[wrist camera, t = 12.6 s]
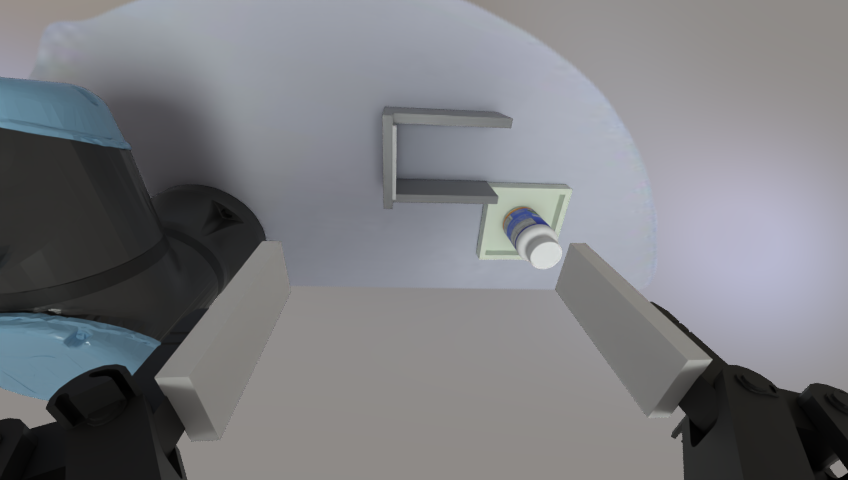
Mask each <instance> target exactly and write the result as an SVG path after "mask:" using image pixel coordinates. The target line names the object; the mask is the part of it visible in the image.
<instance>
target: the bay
mask: <svg viewBox="0 0 848 480" xmlns="http://www.w3.org/2000/svg"><path fill="white" fill-rule="evenodd" d="M512 121H513V118H510V117H508V116H505V115H503V114H500V113H498V112H485V111H465V110H444V109H423V108H402V107H385V109H384V112H383V115H382V126H383V198H384V209H392V206H393V202H411V203H464V204H497V203H498V198H499V196H498V195H497V194H496V193H495V191H494V190H493V189H492V188H491V186H490V185H489V184H488V183H487V182H486V181H462V180H424V179H396V127H397V124H393V123H401V124H424V125H447V126H470V127H493V128H511V126H512Z"/></svg>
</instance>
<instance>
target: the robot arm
mask: <svg viewBox="0 0 848 480" xmlns="http://www.w3.org/2000/svg"><path fill="white" fill-rule="evenodd" d="M130 149H132V148H131V146H130V144H129V143H127V142H126V141H125V139H124V138H123V136H122V134H121V132H120V130H119V128H118V126H117V124H116V122H115V120H114V118H113V116H112V114H111V112H110V110H109V108H108V107H107V105H106V104H105V103H104V102H103V101H102V100H101V99H100V98H99V97H98V96H97V95H95V94H94V93H92V92H91V91H89V90H87V89H85V88H82V87H80V86H76V85H73V84H67V83H58V82H47V81H37V80H26V79H15V78H3V77H0V387H1V388H3V389H5V390H9V391H12V392H15V393H18V394H22V395H25V396H29V397H34V398H38V399H42V400H48V401H49V402H48V404H47V406H46V410H48V412H49V413H50V414H51V415H52V416H53V417H54V418H55V419H56V421H57V422H53V423H49V424H46V425H42V426H39V427H35V428H32V429H29V428H28V427H27V426H26V425H25V424H24V423H23V422H22V421H21V420H20V419H13V418H8V419H3V420H0V480H187V477H186V473H185V470H184V466H183V462H182V459H181V455H180V451H179V449H178V448H177V446H176V444H177V442H178V440H179V439H180V437H181V435H182V434H183V432H184V430H185V431H186V433H187V435H188V436H189V438H190V440H191V442H194V441H213V440H220V439H221V437H222V435H223V433H224V431H225V429H226V427H227V425H228V423H229V420H230V418H231V416H232V414H233V412H234V410H235V408H236V406H237V404H238V402H239V400H240V397H241V396H242V393H243V391H244V389H245V387H246V385H247V383H248V381H249V379H250V377H251V375H252V372H253V370H254V368H255V366H256V364H257V362H258V360H259V357H260V356H261V354H262V352H263V349H264V347H265V345H266V343H267V341H268V339H269V337H270V335H271V333H272V331H273V329H274V326H275V324H276V322H277V320H278V318H279V316H280V314H281V312H282V310H283V308H284V306H285V304H286V302H287V299H288V297H289V295H290V293H291V289H290V284H289V279H288V274H287V269H286V264H285V259H284V254H283V249H282V244H281V241H266V240H265V235H264V232H263V229H262V227H261V225H260V223H259V221H258V220H257V218H256V217H255V216H254V214H253V213H252V212H251V211H250V210H249V209H248V208H247V207H246V206H245V205H244V204H242V203H241V202H240V201H238V200H237V199H235V198H234V197H232V196H230V195H229V194H227V193H225V192H222V191H220V190H217V189H214V188H211V187H207V186H201V185H181V186H176V187H173V188H170V189H168V190H166V191H164V192H162V193H160V194H158V195H156V196H155V197H153V198H152V199H150V197H149V194H148V192H147V190H146V187H145V185H144V182H143V180H142V178H141V175H140V173H139V171H138V168H137V166H136V163H135V161H134V159H133V156H132V154H131V151H130ZM555 290H556V292H557V293H558V295H559V296H560V297H561V299H562V300H563V301H564V303H565V304H566V306H567V307H568V308H569V310H570V311H571V313H572V314H573V315H574V317H575V318H576V319H577V321H578V322H579V324H580V325H581V326H582V328H583V329H584V330H585V332H586V333H587V335H588V336H589V337H590V339H591V340H592V342H593V343H594V344H595V346H596V347H597V349H598V350H599V351H600V353H601V354H602V355H603V357H604V358H605V360H606V361H607V362H608V364H609V365H610V366H611V368H612V369H613V371H614V372H615V373H616V375H617V376H618V378H619V379H620V380H621V382H622V383H623V385H624V386H625V387H626V389H627V390H628V391H629V393H630V394H631V396H632V397H633V398H634V400H635V401H636V402H637V404H638V405H639V407H640V408H641V409H642V411H643V412H644V414H645V415H646V416H647V418H660V417H670V416H671V414H672V413H673V411H674V410H675V409H676V408H677V406H678V405H679V406H680V408H681V409H682V410H683V411H684V412H685V413H686V416H685V417H684V418H683V419H682V421H681V422H680V423H679V425H678V426H677V427H676V428H675V430H674V431H673V432H672V435H671V437H673V438H676V437H677V436H678V434H680V433H682V437H683V440H682V441H681V442H682V443H683V461H684V462H683V463H684V480H848V473H847V474H845V475H844V476H842V477H840V478H837V477H836V475H834V473H833V472H832V471H831V469H830V466H831V465H832V464H834V463H835V462H836V461H838V460H839V459H840V460H841V462H842V463H843V464H844V466H845V467H846V469H847V470H848V393H846V392H845V391H843V390H840V389H837V388H834V387H831V386H829V385H825V384H819V383H814V384H810V385H809V386H808V387H807V388H806V389H805V390H804V391H803V392H802V393H797V392H792V391H788V390H784V389H779V388H777V387H776V386H775V385H774V384H773V383H772V382H771V381H769V380H768V379H766V378H765V377H763V376H762V375H760V374H758V373H756V372H754V371H752V370H750V369H747V368H744V367H741V366H738V365H728V364H727V363H726V362H725V361H723V360H722V359H721V358H720V357H719V356H718V355H717V354H715V353H714V352H713V351H712V350H711V349H710V348H709V347H708V346H706V345H705V344H704V343H703V342H702V341H701V340H700V339H699V338H697V337H696V336H695V335H694V334H693V333H692V332H689V330H688V329H687V328H686V327H685V326H684V325H683V324H681V323H679V321H678V320H677V319H676V318H675V317H674V316H673V315H672V314H670V313H669V312H668V311H667V310H665V309H664V308H662V307H660V306H658V305H657V304H655V303H653V302H649V301H648V300H647V299H646V298H645V297H644V296H643V295H642V294H640V293H639V292H638V291H637V290H636V289H635V288H634V287H633V286H632V285H631V284H630V283H628V282H627V281H626V280H625V279H624V278H623V277H622V276H621V275H620V274H619V273H618V272H616V271H615V270H614V269H613V268H612V267H611V266H610V265H609V264H608V263H607V262H605V261H604V260H603V259H602V258H601V257H600V256H599V255H598V254H597V253H596V252H595V251H593V250H592V249H591V248H590V247H589V246H588V245H587V244H586V243H570V245H569V248H568V251H567V254H566V257H565V260H564V263H563V266H562V269H561V273H560V276H559V279H558V282H557V285H556V288H555ZM220 293H221V294H220ZM219 294H220V295H219ZM218 295H219V297H218V298H217V296H218ZM216 298H217V299H216ZM215 299H216V300H215ZM214 300H215V302H214ZM213 302H214V303H213ZM212 303H213V304H212ZM211 304H212V305H211ZM210 305H211V307H210ZM209 307H210V308H209Z"/></svg>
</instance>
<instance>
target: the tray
mask: <svg viewBox="0 0 848 480" xmlns="http://www.w3.org/2000/svg"><path fill="white" fill-rule="evenodd" d="M488 184H489V185H490V186H491V188H492V189H493V190H494V191H495V193H496V194H497V195H498V196H499V198H498V203H497V204H484V207H483V213H482V219H481V226H480V232H479V238H478V245H477V251H476V253H477V256H478V258H479V260H524V259H522V258H521V257H520V256H519V254H518V253H517V251H516V249H515V248H514V246H513V245H512V243H511V242H510V240H509V239H508V237H507V236H506V234H505V232H504V230H503V220H504V218H505V216H506V215H507V213H508V212H510V211H511V210H512V209H514V208H517V207H522V206H525V207H529V208H531V209H533V210H534V211H535V212H536V213H537V214H538V215H539V216H540V217H541V218H542V219H543V220H544V221H545V222H546V223H547V224H548V225H549V226H550V227H551V228H552V229H553V230H554V231H555V232H556V234H557V237H558V236H559V233H560V230H561V226H562V223H563V220H564V216H565V213H566V210H567V206H568V203H569V200H570V197H571V193H572V190H573V189H572V188H570V187H569V186H567V185H564V184H525V183H488Z"/></svg>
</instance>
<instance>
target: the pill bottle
mask: <svg viewBox="0 0 848 480" xmlns="http://www.w3.org/2000/svg"><path fill="white" fill-rule="evenodd" d="M503 230H504V232H505V234H506V236H507V237H508V239H509V240H510V242H511V243H512V245H513V246H514V248H515V249H516V251H517V253H518V254H519V256H520V257H521V258H522V259H524V260H525V261H528V262H530V263H531V264H532V265H533V266H534V267H536V268H538V269H547V268H550V267H552V266H554V265H555V264H556V263H558V261H559V260H560V258H561V256H562V249H561V247H560V245H559V244H558V237H557V234H556V232H555V231H554V230H553V229H552V228H551V227H550V226H549V225H548V224H547V223H546V222H545V221H544V220H543V219H542V218H541V217H540V216H539V215H538V214H537V213H536V212H535V211H534V210H533V209H531V208H529V207H525V206H522V207H517V208H514V209H512V210H511V211H510V212H508V213H507V215H506V216H505V218H504V220H503Z"/></svg>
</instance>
